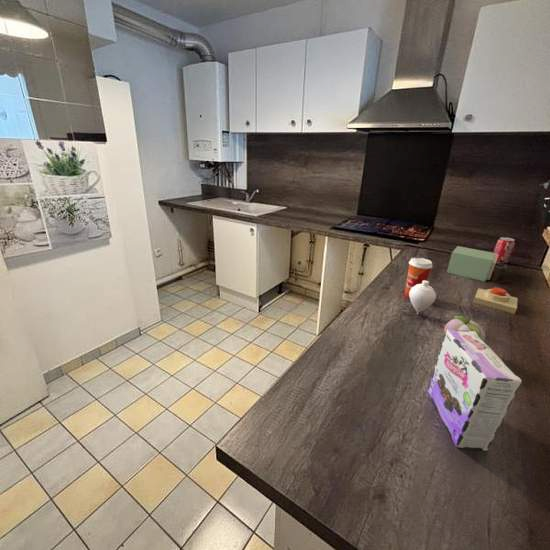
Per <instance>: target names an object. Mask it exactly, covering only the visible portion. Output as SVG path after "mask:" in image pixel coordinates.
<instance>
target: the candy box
mask: <svg viewBox="0 0 550 550" xmlns="http://www.w3.org/2000/svg"><path fill="white" fill-rule="evenodd" d="M433 369H434V370H433V371H432V375H431V378H430V383H429V384H428V388H427V393H428V395H429V397H430V399H431V401H432V403H433V405H434V407H435V409H436V410H437V413H438V415H439V416H440V418H441V420H442V422H443V423H444V426H445V428H446V430H447V432H448V434H449V436H450V437H451V440H452V442H453V443H454V445H455V448H461V449H466V450H467V449H468V450H475V451H481V452H482V451H483V452H488V451H489V448H490V446H491V444H492V442H493V441H494V438H495V436H496V434H497V432H498V430H499V428H500V426H501V424H502V422H503V420H504V418H505V416H506V414H507V412H508V410H509V408H510V406H511V404H512V402H513V400H514V398H515V396H516V394H517V392H518V390H519V388H520V386H521V384H522V381H523V380H522V379H521V378H520V377H519V376H517V375H516V374H515V373H514V371H512V370H511V369H510V367H508V365H507V364H506V363H505V362H504V361H503V360H502V359H501V358H500V357H499V356H498V355H497V354H496V352H494V350H493V349H492V348H491V347H490V346H489V345H488V344H487V343H486V342H485V341H483V340H482V339H481V338H480V337H479V336H478V334H477V333H476V332H475V331H462V330H446V334H445V333H444V337H443V340H442V344H441V347H440V349H439V353H438V357H437V359H436V363H435V366H434V368H433Z"/></svg>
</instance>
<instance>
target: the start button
mask: <svg viewBox="0 0 550 550" xmlns="http://www.w3.org/2000/svg"><path fill="white" fill-rule="evenodd" d="M491 289H492V291H491V293H493V294H495V295H498V296H505V294H506V293H507V290H505V289H504V288H501V287H497V286H496V287H495V286H494V287H492V288H491Z"/></svg>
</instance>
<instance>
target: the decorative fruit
mask: <svg viewBox="0 0 550 550" xmlns="http://www.w3.org/2000/svg"><path fill="white" fill-rule="evenodd" d="M446 330H462V331H475V332H476V333H477V334H478V336H479V337H480V338H481V339H482V340H483V341H484V342H485V341H486V333H485V330H484V329H483V328H482V326H481V325H480V324H478V323H477V322H475V321H474V320H471V318H470V317H469V318H467V317H464V316H463V315H462V316H461V315H455V316H453V319H451V320H449V321H448V322H447V323H446V324H445V325H444V329H443V331H444V335H445V334H446Z"/></svg>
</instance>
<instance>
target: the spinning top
mask: <svg viewBox="0 0 550 550" xmlns="http://www.w3.org/2000/svg"><path fill="white" fill-rule="evenodd" d="M409 297H410V298H409V300H410V303H411V305H412V307H413V308H414V311H415V312H416V315H419V313H421V312H423V311H425V310H426V309H428V308H429V307H431V305H433V303H435V301H436V300H437V293H436V291H435V289H434V287H432V286H430V281H428V280H427V281H425V280H424V281H422V284H417V285H415V286H414V287H412V288H411V290H410V292H409Z"/></svg>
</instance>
